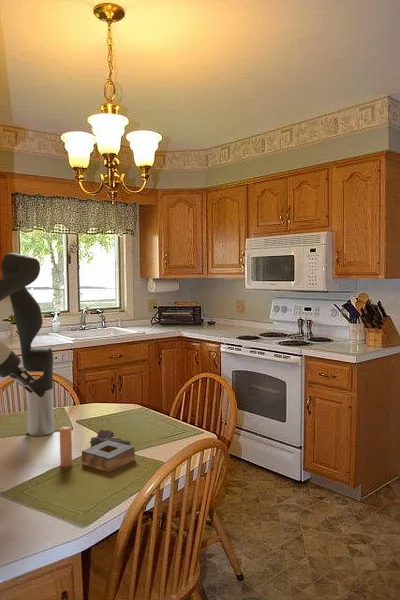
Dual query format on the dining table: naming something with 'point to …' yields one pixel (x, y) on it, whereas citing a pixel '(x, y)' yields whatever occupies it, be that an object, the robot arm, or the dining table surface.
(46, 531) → the dining table surface
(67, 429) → the peg
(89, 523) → the dining table surface
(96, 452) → the socket
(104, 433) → the pistol
